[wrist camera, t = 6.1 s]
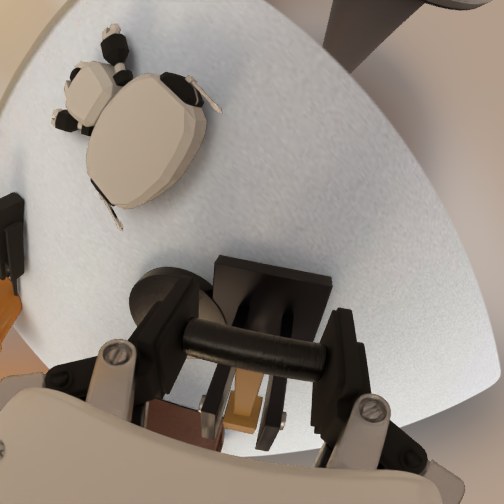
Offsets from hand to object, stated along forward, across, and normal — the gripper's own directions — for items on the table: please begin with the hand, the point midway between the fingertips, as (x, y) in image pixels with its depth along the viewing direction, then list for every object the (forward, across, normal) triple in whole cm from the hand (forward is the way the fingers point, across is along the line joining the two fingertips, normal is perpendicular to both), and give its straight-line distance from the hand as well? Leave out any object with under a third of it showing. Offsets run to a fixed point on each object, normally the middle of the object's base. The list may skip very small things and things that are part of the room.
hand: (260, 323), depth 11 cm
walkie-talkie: (+10, +34, +12) cm, 38 cm away
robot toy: (+13, +14, -7) cm, 20 cm away
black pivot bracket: (+12, 0, +10) cm, 16 cm away
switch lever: (+1, 0, +5) cm, 5 cm away
